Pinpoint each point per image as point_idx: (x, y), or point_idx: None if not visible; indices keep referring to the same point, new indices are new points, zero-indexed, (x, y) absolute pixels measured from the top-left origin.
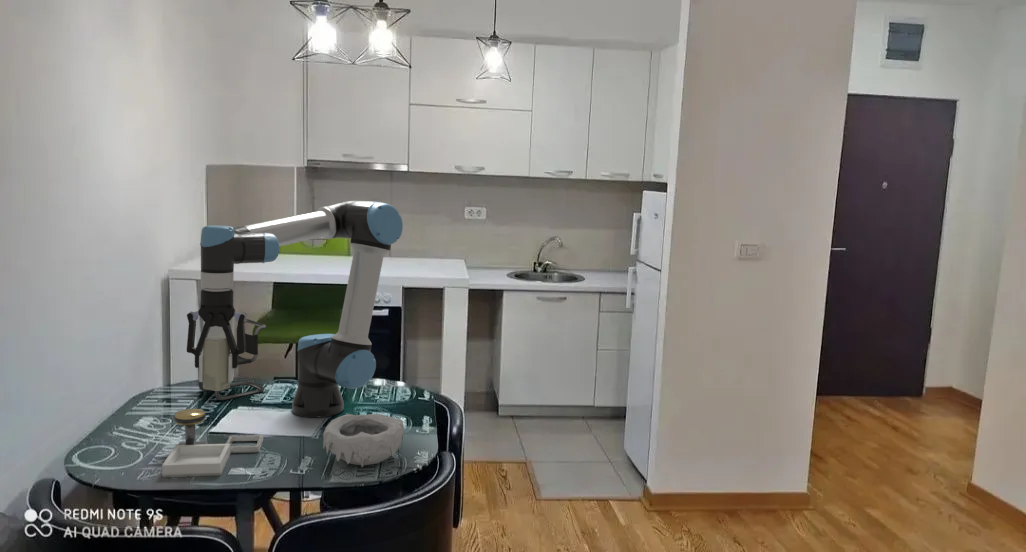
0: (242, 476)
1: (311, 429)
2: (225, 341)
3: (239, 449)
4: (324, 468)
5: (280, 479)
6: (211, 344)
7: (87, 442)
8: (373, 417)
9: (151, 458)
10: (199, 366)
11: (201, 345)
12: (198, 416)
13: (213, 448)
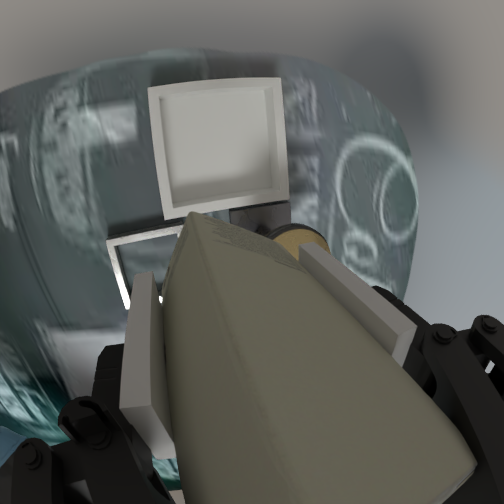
0: (101, 94)
1: (68, 360)
2: None
3: (148, 230)
4: None
5: (27, 96)
6: (410, 455)
7: (413, 250)
8: None
9: (320, 184)
10: (363, 284)
11: (467, 397)
12: None
13: (201, 201)
